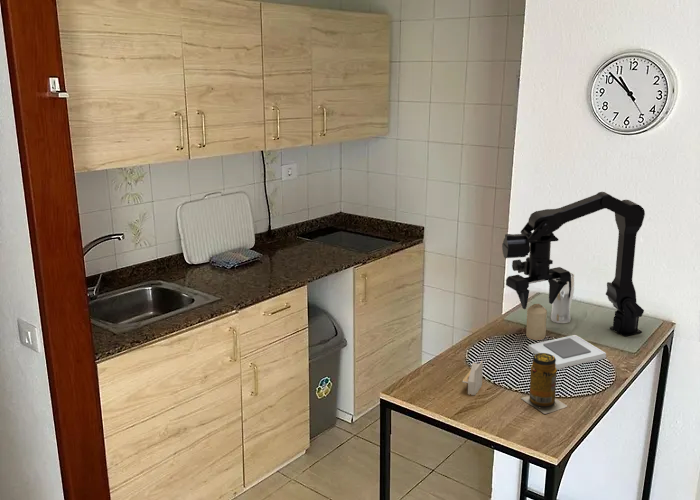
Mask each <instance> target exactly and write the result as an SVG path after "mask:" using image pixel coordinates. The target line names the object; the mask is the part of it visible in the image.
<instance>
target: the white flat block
mask: <svg viewBox="0 0 700 500" xmlns="http://www.w3.org/2000/svg"><path fill="white" fill-rule="evenodd" d="M528 351H529V352H531V353H532V352H533V353H532V354H534V355H535V354H538V353H547V354H551V355H553V356H554V357H555V359H556V362H555V364H556V366H555V367H556V369H557V370H560V369H565V367H566V368H569V367H568V366H570V367H573V365H574V366H577V365H582V363H583V364H587V363H590V362H594V361H595V362H596V361H599V360H604V359H606V357H607V353H606V352H605V351H603V350H602V349H600V348H599V347H597V346H595V345H593V344H592V343H590V342H589V341H587V340H585V339H583V338H582V337H580V336H578V335H576V334H573V335H568V336H563V337H558V338H555V339H550V340H545V341H541V342H535V343H532V344H528ZM586 362H587V363H586Z"/></svg>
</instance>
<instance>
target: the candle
mask: <svg viewBox="0 0 700 500" xmlns="http://www.w3.org/2000/svg"><path fill="white" fill-rule="evenodd" d="M547 312H548V310H547V309H546V308H545V306H543V305H541V304H540V303H533V304H532V305H530V306H529V307H528V308H526V313H527V314H526V329H525V330H526V332H525V333H526V337H527V338H528V339H530V340H532V341H541V340H544V339H545V338H546V334H547V333H546V332H547V331H546V330H547V317H548V316H547Z"/></svg>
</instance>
